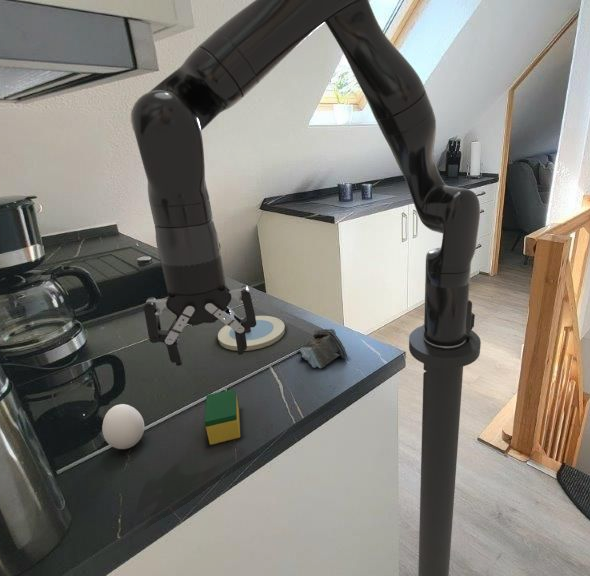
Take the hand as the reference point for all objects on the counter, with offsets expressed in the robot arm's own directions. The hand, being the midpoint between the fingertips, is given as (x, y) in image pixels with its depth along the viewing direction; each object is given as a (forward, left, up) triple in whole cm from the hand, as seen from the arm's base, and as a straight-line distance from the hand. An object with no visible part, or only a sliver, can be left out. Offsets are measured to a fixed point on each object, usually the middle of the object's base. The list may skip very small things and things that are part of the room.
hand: (211, 357), depth 61 cm
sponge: (0, 0, -13) cm, 13 cm away
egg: (+14, -1, -14) cm, 20 cm away
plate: (-6, -31, -13) cm, 34 cm away
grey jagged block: (-18, -16, -14) cm, 28 cm away
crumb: (-4, -31, -12) cm, 34 cm away
